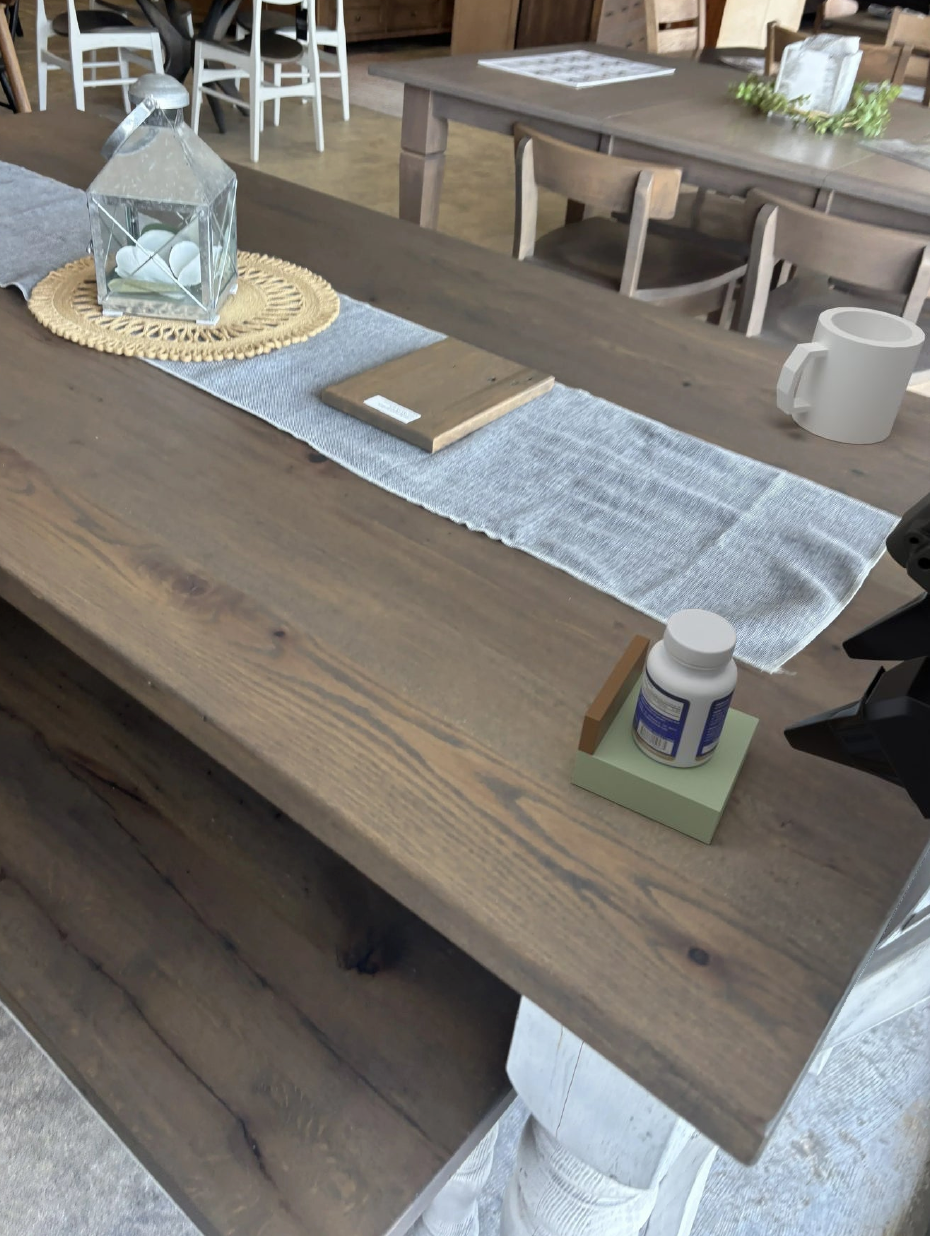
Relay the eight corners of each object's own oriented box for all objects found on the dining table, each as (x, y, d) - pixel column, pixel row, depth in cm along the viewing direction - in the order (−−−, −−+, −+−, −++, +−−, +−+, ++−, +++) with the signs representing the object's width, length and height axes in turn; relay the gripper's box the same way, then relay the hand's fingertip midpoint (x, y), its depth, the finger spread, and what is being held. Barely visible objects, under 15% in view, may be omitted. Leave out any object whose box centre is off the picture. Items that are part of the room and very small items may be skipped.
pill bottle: (700, 708, 65) (732, 601, 60) (726, 769, 61) (764, 659, 55) (621, 709, 64) (646, 601, 59) (641, 770, 60) (671, 660, 55)
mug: (804, 453, 100) (835, 355, 94) (745, 408, 108) (770, 314, 102) (911, 437, 104) (948, 342, 98) (847, 394, 112) (877, 303, 106)
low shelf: (748, 751, 66) (772, 684, 63) (709, 845, 60) (732, 776, 56) (620, 699, 70) (636, 633, 66) (570, 782, 63) (584, 714, 60)
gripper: (1087, 387, 49) (805, 498, 60) (1002, 553, 36) (668, 653, 48) (1194, 580, 49) (895, 653, 61) (1147, 807, 37) (784, 844, 49)
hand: (818, 691), depth 55 cm, fingers open, 9 cm apart
